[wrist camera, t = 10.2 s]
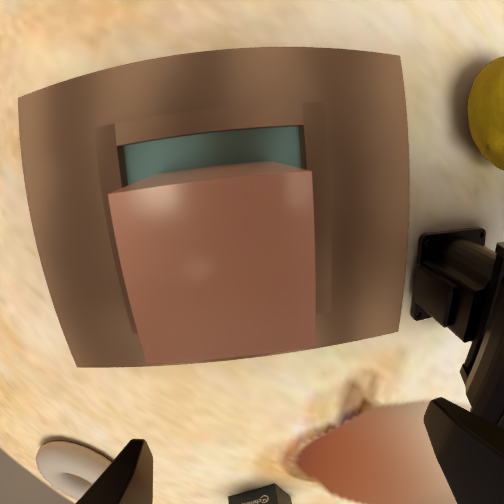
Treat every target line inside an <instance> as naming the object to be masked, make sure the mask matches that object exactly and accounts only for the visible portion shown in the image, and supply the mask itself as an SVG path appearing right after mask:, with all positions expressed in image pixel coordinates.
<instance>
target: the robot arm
mask: <svg viewBox="0 0 504 504" xmlns="http://www.w3.org/2000/svg"><path fill="white" fill-rule="evenodd" d="M479 235H480V236H479ZM485 236H486V232H485V230H484V229H483V228H480V227H476V228H467V229H458V230H450V231H441V232H432V233H424V234H422V235H421V237H420V239H419V248H418V260H417V267H416V274H415V283H414V291H413V303H412V310H411V316H412V318H413V319H414V320H416V321H419V320H423V319H427V318H430V317H433V318H434V319H435V320H436V321H437V322H438V323H439V324H440V325H442V326H443V327H444V328H445V327H448V328H449V329H450V330H451V331H452V332H453V333H454V334H455V335H456V336H457V337H459V338H460V339H461V340H462V341H463V342H464V343H466V342H469V341H471V342H472V344H471V347H470V350H469V352H468V355H467V358H466V360H465V363H464V364H463V365H462V367H461V370H460V374H461V376H462V379H463V381H464V384H465V386H466V395H467V398H468V400H469V402H470V405H471V406H472V407H471V409H470V412H469V411H467V410H465V409H464V408H462V407H460V406H458V405H456V404H454V403H452V402H450V401H448V400H446V399H444V398H442V397H440V398H436V399H433V400H431V401H430V403H429V405H428V407H427V410H426V412H425V415H424V424H425V427H426V429H427V432H428V435H429V438H430V441H431V444H432V447H433V449H434V453H435V455H436V458H437V460H438V462H439V464H440V466H441V469H442V471H443V473H444V475H445V477H446V479H447V482H448V484H449V486H450V488H451V490H452V493H453V495H454V497H455V499H456V502H457V504H504V242H498V243H497V245H496V250H495V252H494V251H492V250H490V249H488V248H486V247H484V245H485ZM426 239H428V241H427V243H426V244H425V240H426ZM418 312H419V313H418ZM417 313H418V315H417ZM152 501H153V456H152V453H151V451H150V449H149V446H148V444H147V442H146V441H145V440H144V439H132V440H130V442H129V443H128V444H127V445H126V446H125V447H124V449H123V450H122V451H121V452H120V453H119V454H118V456H117V457H116V458H115V459H114V460H113V461H112V463H111V464H110V465H109V466H108V467H107V468H106V469H105V471H104V472H103V473H102V474H101V475H100V476H99V478H98V479H97V480H96V481H95V482H94V483H93V484H92V486H91V487H90V488H89V489H88V490H87V491H86V492H85V493H84V495H83V496H82V497H81V498H80V499H79V500H78V501H77V503H76V504H152Z"/></svg>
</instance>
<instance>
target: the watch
mask: <svg viewBox="0 0 504 504" xmlns="http://www.w3.org/2000/svg"><path fill="white" fill-rule="evenodd" d="M228 500H229V504H292V502H291V498H290V496H289V495H288V494H287V493H285V492H284V491H283V490H282V489H281V488H279V487H278V486H277V485H276V484H272V485H269V486H265V487H262V488H259V489H255V490H252V491H249V492H245V493H241V494H238V495H234V496H230V497H228Z"/></svg>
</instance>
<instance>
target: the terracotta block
mask: <svg viewBox="0 0 504 504" xmlns="http://www.w3.org/2000/svg"><path fill="white" fill-rule="evenodd" d="M108 198H109V205H110V211H111V217H112V223H113V228H114V234H115V239H116V244H117V249H118V254H119V259H120V263H121V268H122V272H123V277H124V281H125V285H126V289H127V293H128V298H129V302H130V305H131V309H132V313H133V317H134V321H135V324H136V328H137V331H138V335H139V338H140V342H141V345H142V348H143V352H144V355H145V358H146V361H147V364H160V363H176V362H190V361H203V360H214V359H224V358H234V357H243V356H251V355H259V354H267V353H274V352H282V351H288V350H295V349H301V348H308V347H314V346H315V322H316V282H315V232H314V205H313V184H312V171H309V170H305V169H301V168H297V167H293V166H289V165H285V164H281V163H277V162H273V161H259V162H247V163H236V164H226V165H217V166H208V167H199V168H191V169H183V170H176V171H168V172H161V173H157V174H155V175H152V176H150V177H147V178H145V179H143V180H140V181H138V182H135V183H133V184H131V185H128V186H126V187H124V188H121V189H119V190H117V191H114V192H112V193H110V194H108Z"/></svg>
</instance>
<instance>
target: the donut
mask: <svg viewBox="0 0 504 504" xmlns="http://www.w3.org/2000/svg"><path fill="white" fill-rule="evenodd" d="M36 462H37V466H38V469H39V471H40V473H41V474H42V476H43V477H44V478H45V480H46V481H47V482H49V483H50V484H51V485H52V486H53V487H54V488H56V489H57V490H59V491H60V492H62V493H63V494H65V495H67V496H69V497H71V498H73V499H76V500H79V499H80V498H81V497H82V496H83V495H84V493H85V492H86V491H87V490H88V489H89V488H90V487H91V486H92V484H93V483H94V482H95V481H96V480H97V479H98V478H99V476H100V475H101V474H102V473H103V472H104V471H105V469H106V468H107V467H108V466H109V465H110V464H111V463H112V462H111V461H109V460H108V459H107V458H105V457H104V456H102V455H101V454H99V453H97V452H95V451H93V450H91V449H89V448H86V447H84V446H81V445H78V444H75V443H70V442H65V441H52V442H49V443H47V444H45V445H43V446H41V447H40V449H39V451H38V453H37V456H36Z"/></svg>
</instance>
